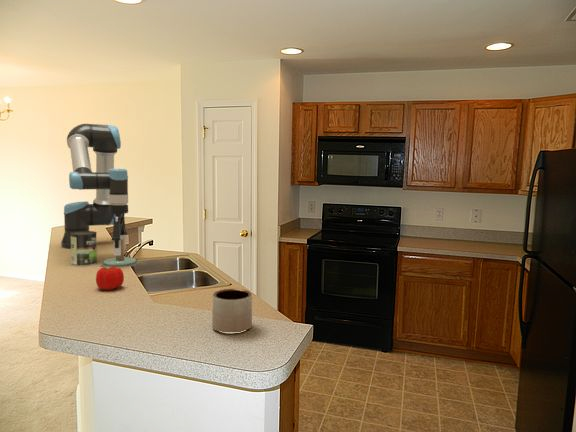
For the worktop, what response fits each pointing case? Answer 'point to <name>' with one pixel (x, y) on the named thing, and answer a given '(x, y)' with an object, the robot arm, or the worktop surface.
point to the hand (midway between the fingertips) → (119, 252)
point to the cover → (120, 258)
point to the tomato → (109, 278)
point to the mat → (117, 266)
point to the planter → (232, 310)
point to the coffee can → (83, 248)
